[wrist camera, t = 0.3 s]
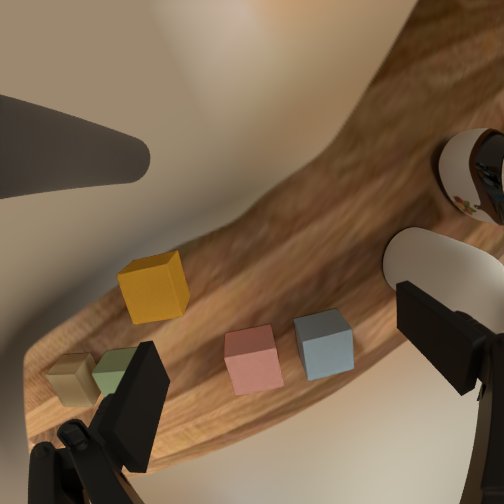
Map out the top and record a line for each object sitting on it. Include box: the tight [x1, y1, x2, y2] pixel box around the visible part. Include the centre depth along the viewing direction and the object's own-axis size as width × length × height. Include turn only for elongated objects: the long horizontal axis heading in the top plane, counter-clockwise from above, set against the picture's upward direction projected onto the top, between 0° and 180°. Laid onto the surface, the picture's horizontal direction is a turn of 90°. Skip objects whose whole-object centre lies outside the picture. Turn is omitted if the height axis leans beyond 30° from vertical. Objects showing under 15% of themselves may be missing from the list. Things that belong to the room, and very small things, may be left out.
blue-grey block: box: [293, 308, 354, 381], centre depth 30 cm, size 5×5×5 cm
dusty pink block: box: [224, 324, 284, 396], centre depth 30 cm, size 5×5×5 cm
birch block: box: [45, 352, 101, 407], centre depth 30 cm, size 5×5×5 cm
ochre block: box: [116, 250, 190, 325], centre depth 28 cm, size 5×5×5 cm
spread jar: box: [438, 128, 504, 226], centre depth 23 cm, size 12×11×12 cm
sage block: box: [92, 347, 137, 397], centre depth 30 cm, size 5×5×5 cm
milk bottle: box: [383, 227, 504, 334], centre depth 22 cm, size 8×8×20 cm
